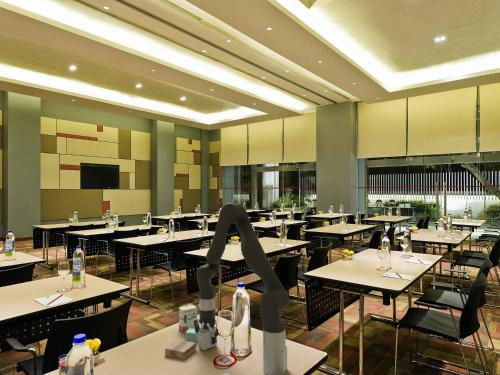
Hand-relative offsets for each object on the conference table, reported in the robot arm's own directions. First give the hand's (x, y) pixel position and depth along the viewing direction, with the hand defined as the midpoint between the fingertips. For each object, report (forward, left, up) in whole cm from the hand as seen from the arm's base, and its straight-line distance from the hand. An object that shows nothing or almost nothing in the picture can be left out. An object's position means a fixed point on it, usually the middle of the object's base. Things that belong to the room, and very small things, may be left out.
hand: (207, 342), depth 170 cm
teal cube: (+11, -4, -2) cm, 11 cm away
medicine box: (0, 0, -2) cm, 2 cm away
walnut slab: (+9, +9, -3) cm, 13 cm away
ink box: (+20, -15, -2) cm, 25 cm away
